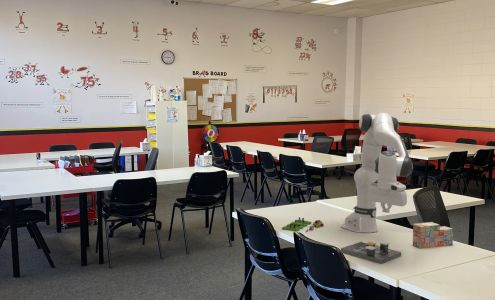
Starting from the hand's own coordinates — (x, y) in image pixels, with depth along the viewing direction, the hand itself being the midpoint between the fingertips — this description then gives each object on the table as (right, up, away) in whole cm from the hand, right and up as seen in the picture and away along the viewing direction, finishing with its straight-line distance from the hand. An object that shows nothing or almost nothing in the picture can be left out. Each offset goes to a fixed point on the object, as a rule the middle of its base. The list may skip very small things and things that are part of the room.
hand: (385, 212), depth 238 cm
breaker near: (-7, -21, +1) cm, 22 cm away
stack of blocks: (+32, -21, +24) cm, 46 cm away
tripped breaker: (-5, -20, +8) cm, 22 cm away
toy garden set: (-34, -18, +60) cm, 71 cm away
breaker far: (+2, -20, +9) cm, 22 cm away
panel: (-5, -22, +8) cm, 24 cm away
